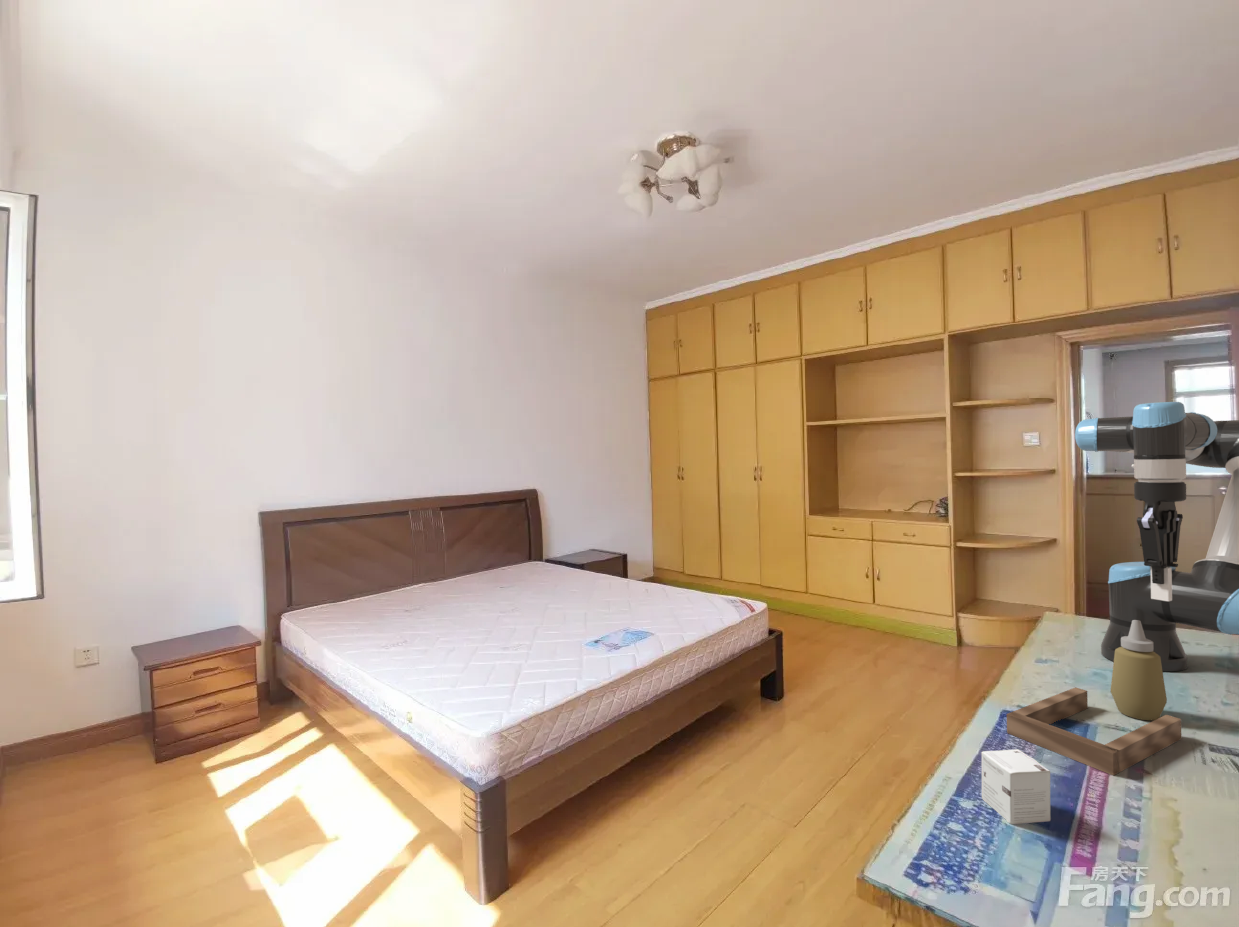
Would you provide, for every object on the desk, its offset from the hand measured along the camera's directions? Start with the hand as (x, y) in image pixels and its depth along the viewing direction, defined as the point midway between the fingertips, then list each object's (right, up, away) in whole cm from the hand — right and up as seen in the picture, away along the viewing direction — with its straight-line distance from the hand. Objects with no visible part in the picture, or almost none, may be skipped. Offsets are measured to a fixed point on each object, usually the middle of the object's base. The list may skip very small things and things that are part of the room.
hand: (1161, 599), depth 114 cm
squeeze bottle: (-8, -21, -4) cm, 23 cm away
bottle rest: (-23, -22, -11) cm, 33 cm away
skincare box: (-50, -23, -31) cm, 64 cm away
